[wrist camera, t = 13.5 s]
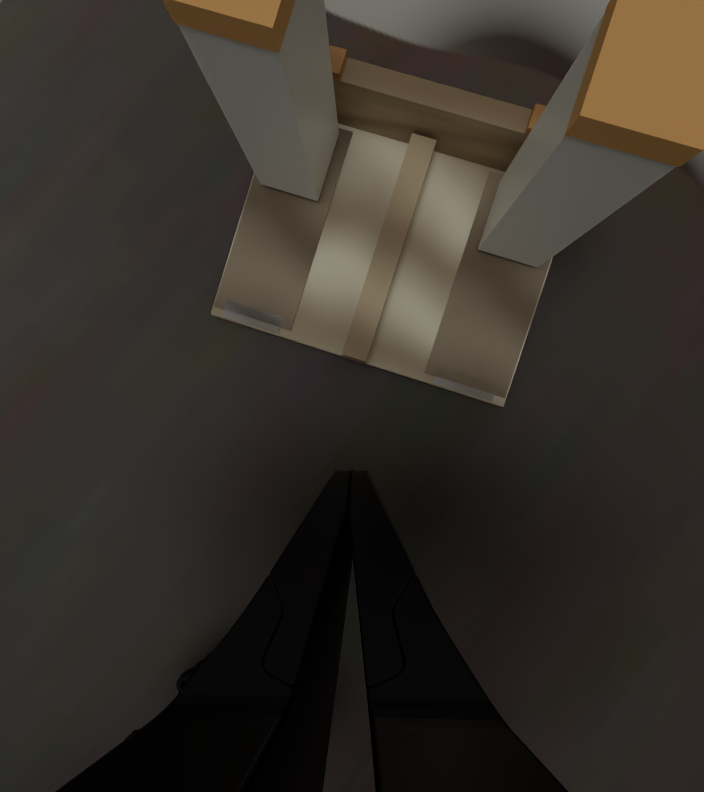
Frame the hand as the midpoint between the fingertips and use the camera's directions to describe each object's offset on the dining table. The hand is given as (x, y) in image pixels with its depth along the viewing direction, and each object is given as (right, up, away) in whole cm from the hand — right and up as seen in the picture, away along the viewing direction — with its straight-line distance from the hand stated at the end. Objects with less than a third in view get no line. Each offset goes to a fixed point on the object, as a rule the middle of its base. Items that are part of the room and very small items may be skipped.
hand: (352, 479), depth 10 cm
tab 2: (+9, +12, +10) cm, 18 cm away
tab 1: (-3, +16, +11) cm, 20 cm away
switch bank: (+2, +11, +12) cm, 17 cm away
